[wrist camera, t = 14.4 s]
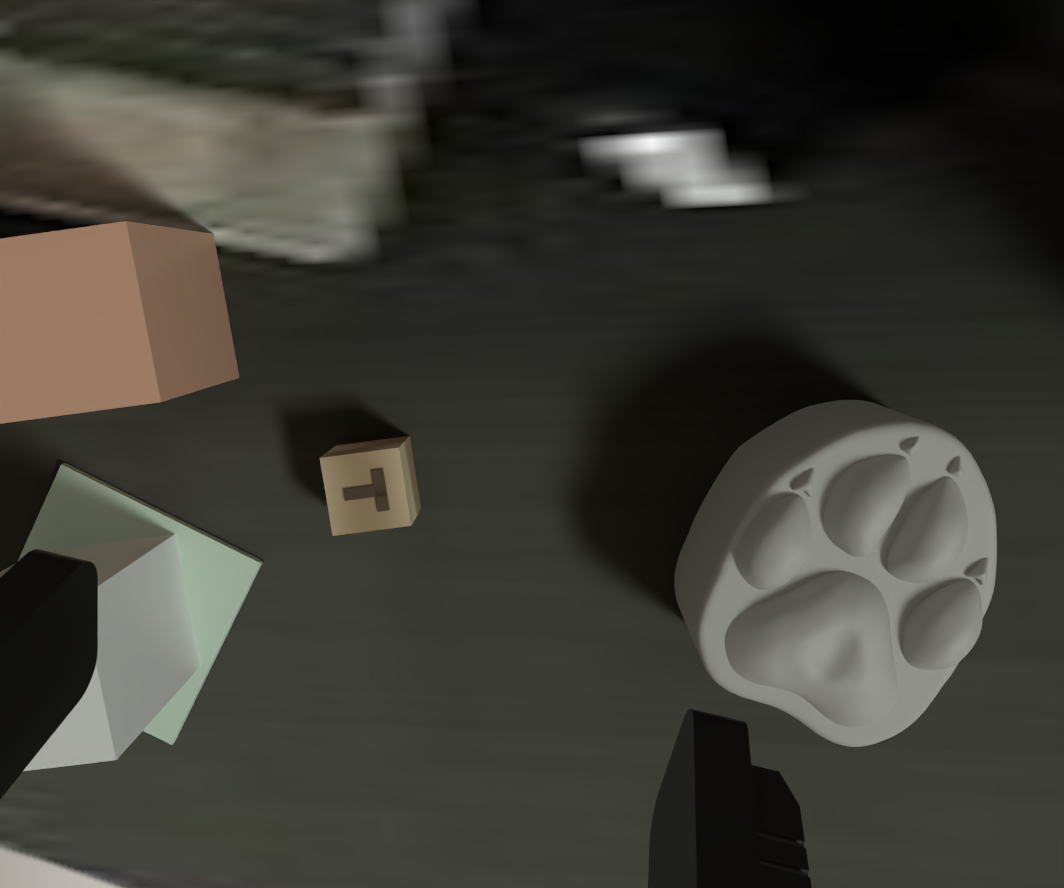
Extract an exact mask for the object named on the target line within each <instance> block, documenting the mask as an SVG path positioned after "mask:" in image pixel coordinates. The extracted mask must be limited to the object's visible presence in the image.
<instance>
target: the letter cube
mask: <svg viewBox="0 0 1064 888" xmlns="http://www.w3.org/2000/svg"><path fill="white" fill-rule="evenodd" d="M320 464H321V470H322V476H323V482H324V487H325V493H326V499H327V505H328V511H329V517H330V523H331V529H332V535H333V536H335V535H343V534H350V533H358V532H366V531H374V530H381V529H389V528H397V527H405V526H411V525H412V523H413V522H414V520H415V518H416V516H417V515H418V513H419V511H420V509H421V506H420V500H419V493H418V487H417V481H416V474H415V468H414V461H413V455H412V448H411V442H410V436H405V437H397V438H389V439H382V440H374V441H367V442H359V443H351V444H344V445H336V446H335V447H333V448H332V449H331V450H329V451H328V452H327V453H325V454H324V455H323V456H321V457H320Z"/></svg>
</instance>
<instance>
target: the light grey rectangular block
mask: <svg viewBox="0 0 1064 888" xmlns="http://www.w3.org/2000/svg"><path fill="white" fill-rule="evenodd" d="M45 551H49V552H53V553H57V554H61V555H65V556H69V557H73V558H77V559H82V560H86V561H90V562H92V563H93V564H94V565H95V567H96V569H97V575H98V653H97V661H96V666H95V670H94V673H93V676H92V679H91V681H90V683H89V686H88V688H87V690H86V692H85V693H84V695H83V697H82V698H81V699H80V701H79V702H78V703H77V705H76V706H75V707H74V708H73V710H72V711H71V712H70V713H69V715H68V716H67V717H66V718H65V720H64V721H63V722H62V723H61V725H60V726H59V727H58V728H57V729H56V731H55V732H54V733H53V734H52V736H51V737H50V738H49V739H48V741H47V742H46V743H45V744H44V746H43V747H42V748H41V749H40V751H39V752H38V753H37V754H36V756H35V757H34V758H33V759H32V761H31V762H30V763H29V764H28V765H27V767H26V768H25V769H24V770H23V771H29V770H37V769H45V768H54V767H62V766H70V765H79V764H87V763H95V762H104V761H112V760H117V759H118V757H119V756H120V755H121V754H122V753H123V752H124V751H125V750H126V749H127V747H128V746H129V745H130V744H131V743H132V742H133V741H134V740H135V739H136V737H137V736H138V735H139V734H140V733H141V732H142V731H143V730H144V729H145V727H146V726H147V725H148V724H149V723H150V722H151V721H152V720H153V719H154V717H155V716H156V715H157V714H158V713H159V712H160V711H161V710H162V709H163V707H164V706H165V705H166V704H167V703H168V702H169V701H170V700H171V699H172V697H173V696H174V695H175V694H176V693H177V692H178V691H179V690H180V689H181V687H182V686H183V685H184V684H185V683H186V682H187V681H188V680H189V679H190V677H191V676H192V675H193V674H194V673H195V672H196V671H197V670H198V669H199V667H200V661H199V656H198V651H197V646H196V640H195V635H194V630H193V625H192V620H191V614H190V609H189V604H188V599H187V594H186V588H185V583H184V578H183V573H182V568H181V562H180V557H179V552H178V547H177V542H176V536H175V534H171V535H163V536H155V537H148V538H140V539H132V540H124V541H116V542H108V543H100V544H93V545H85V546H77V547H69V548H61V549H53V550H45ZM14 565H15V564H14ZM12 566H13V565H12ZM12 566H10V567H8V568H6V569H4V570H2V571H1V572H0V577H1V576H2V575H4V574H5V573H6V572H7V571H8V570H9V569H10V568H11V567H12Z"/></svg>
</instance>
